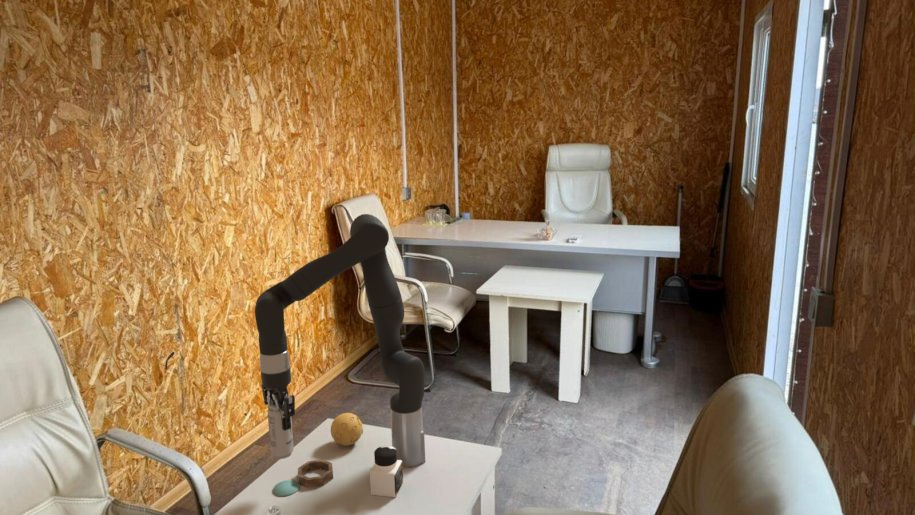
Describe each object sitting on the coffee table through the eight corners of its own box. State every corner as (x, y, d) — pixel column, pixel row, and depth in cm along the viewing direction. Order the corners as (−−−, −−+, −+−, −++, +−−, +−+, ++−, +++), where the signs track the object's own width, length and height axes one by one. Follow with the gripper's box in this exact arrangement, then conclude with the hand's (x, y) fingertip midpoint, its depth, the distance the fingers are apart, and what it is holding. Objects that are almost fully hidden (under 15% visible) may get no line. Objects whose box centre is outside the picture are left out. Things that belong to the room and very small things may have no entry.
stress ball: (331, 443, 194) (321, 437, 185) (342, 413, 198) (333, 405, 189) (360, 451, 192) (351, 446, 183) (370, 421, 196) (362, 414, 187)
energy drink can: (293, 458, 164) (290, 406, 161) (270, 461, 163) (266, 409, 160) (293, 447, 170) (290, 396, 167) (271, 450, 168) (267, 399, 165)
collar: (332, 465, 180) (331, 458, 179) (333, 484, 171) (333, 476, 170) (298, 470, 178) (297, 462, 177) (298, 489, 168) (297, 481, 168)
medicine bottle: (395, 498, 164) (393, 457, 161) (370, 495, 165) (368, 455, 163) (403, 482, 171) (401, 443, 168) (379, 480, 172) (376, 441, 169)
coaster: (299, 479, 173) (299, 478, 173) (299, 494, 166) (299, 492, 166) (273, 483, 172) (273, 482, 171) (272, 498, 165) (272, 496, 165)
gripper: (302, 370, 158) (307, 429, 162) (275, 355, 168) (280, 411, 172) (275, 378, 153) (281, 439, 157) (249, 363, 163) (255, 420, 167)
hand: (280, 424), depth 165 cm, fingers closed on energy drink can, 6 cm apart
